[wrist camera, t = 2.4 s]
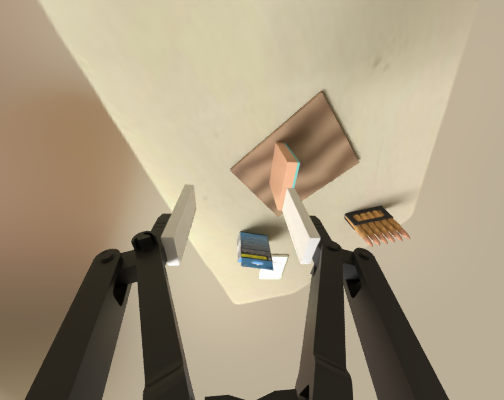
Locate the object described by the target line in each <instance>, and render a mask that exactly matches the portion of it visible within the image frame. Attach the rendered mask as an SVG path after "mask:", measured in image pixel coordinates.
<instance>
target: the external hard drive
mask: <svg viewBox="0 0 504 400" xmlns="http://www.w3.org/2000/svg"><path fill="white" fill-rule="evenodd" d="M271 256H272V260H273V269H274V271H272V270H266V269H260V274H259V279H281V276H282V273H283V270H284V267H285V264H286V261H287V259H288V255H273V254H271Z"/></svg>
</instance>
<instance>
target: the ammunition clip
mask: <svg viewBox="0 0 504 400" xmlns="http://www.w3.org/2000/svg"><path fill="white" fill-rule="evenodd" d="M345 220H346V221H347V222H348V223H349V224H350V226H351V227H352V228H353V229H354V230H356V232H357V233H358V234H359V235H360V236H361V237H362V238H363V239H364V240H365V242H366V243H367V244H369V245H370V246H372V247H373V244H372V242H371V240H370V239H369V237H370V238H371V239H372V240H373V241H374V242H375V243H376V244H378V245H380V242H379V240H378V239H377V237H378V238H379V239H380V240H382V241H383V242H384V243H386V244H387V243H388V242H387V240H386V239H385V237H384V236H383V235H382V233H383V234H384V235H385V236H386V237H387V238H388V239H389V240H391V241H392V242H395V240H394V238H393V237H392V235H391V234H393V235H394V236H395V237H396V238H398V239H399V240H401V241H402V237H401V236H400V235H399V233H400V234H402V235H403V236H404V237H406V238H408V239H410V237H409V235H408V234H407V232H406V231H405V230H404V229H403V228H402V227H401V226H400V225H399V224H398V223H397V222H396V221H395V220H394V219H393V217H392V216H391V215H390V214H389V213H388V212H387V211H386V210H385V209H384V208H383V207H382V206H379V207H374V208H369V209H365V210H360V211H355V212H351V213H346V214H345ZM387 230H388V231H389V232H390V233H391V234H390V233H389V232H388V231H387ZM396 230H397V231H398V232H399V233H398V232H397V231H396ZM366 234H367V235H368V236H369V237H368V236H367V235H366ZM374 234H375V235H376V236H377V237H376V236H375V235H374Z"/></svg>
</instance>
